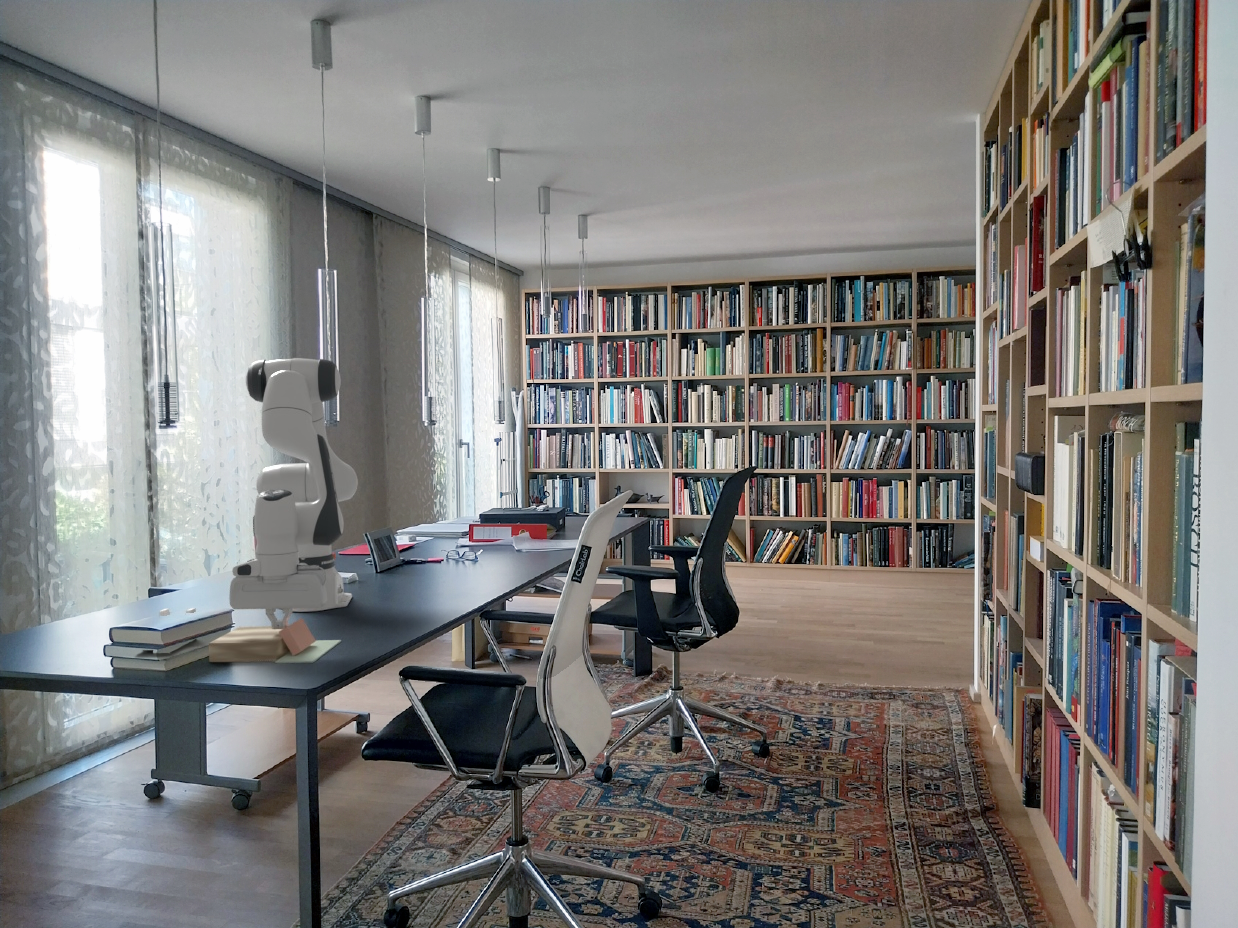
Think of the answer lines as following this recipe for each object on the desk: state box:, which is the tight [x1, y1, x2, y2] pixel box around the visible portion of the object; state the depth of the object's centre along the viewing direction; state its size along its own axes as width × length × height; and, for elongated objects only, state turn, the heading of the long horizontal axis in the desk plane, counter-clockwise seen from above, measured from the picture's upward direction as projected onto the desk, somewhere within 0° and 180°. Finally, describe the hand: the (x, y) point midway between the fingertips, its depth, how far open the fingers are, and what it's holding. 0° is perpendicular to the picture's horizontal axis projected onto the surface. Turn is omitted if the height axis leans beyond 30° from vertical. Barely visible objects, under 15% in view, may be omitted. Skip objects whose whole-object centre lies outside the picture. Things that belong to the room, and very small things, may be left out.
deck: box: [208, 625, 290, 663], centre depth 196 cm, size 15×14×4 cm
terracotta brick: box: [279, 617, 316, 656], centre depth 196 cm, size 9×6×2 cm
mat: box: [274, 639, 342, 664], centre depth 196 cm, size 18×8×1 cm, turn 179°
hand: (279, 628), depth 196 cm, fingers closed
